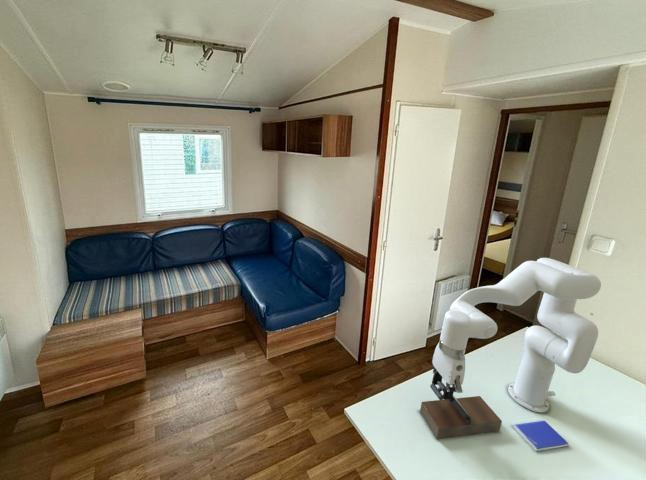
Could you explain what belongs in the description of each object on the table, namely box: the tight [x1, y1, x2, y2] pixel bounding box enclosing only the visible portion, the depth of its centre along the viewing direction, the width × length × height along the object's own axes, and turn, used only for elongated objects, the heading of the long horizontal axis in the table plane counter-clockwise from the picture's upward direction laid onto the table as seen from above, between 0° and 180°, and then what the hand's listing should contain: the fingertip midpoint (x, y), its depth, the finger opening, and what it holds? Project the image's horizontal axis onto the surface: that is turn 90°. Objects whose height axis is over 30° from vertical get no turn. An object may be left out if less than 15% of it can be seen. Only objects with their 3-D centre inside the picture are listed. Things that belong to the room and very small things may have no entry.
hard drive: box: [513, 420, 569, 452], centre depth 100 cm, size 2×8×12 cm
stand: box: [419, 395, 503, 440], centre depth 104 cm, size 24×10×7 cm, turn 97°
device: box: [429, 381, 471, 421], centre depth 101 cm, size 16×8×4 cm
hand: (441, 390), depth 100 cm, fingers closed on device, 5 cm apart
